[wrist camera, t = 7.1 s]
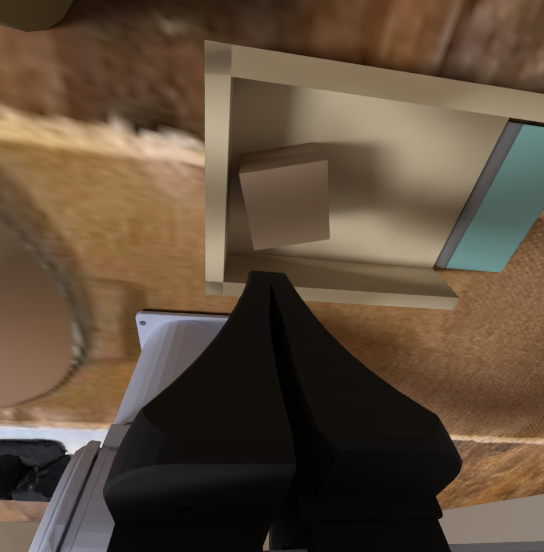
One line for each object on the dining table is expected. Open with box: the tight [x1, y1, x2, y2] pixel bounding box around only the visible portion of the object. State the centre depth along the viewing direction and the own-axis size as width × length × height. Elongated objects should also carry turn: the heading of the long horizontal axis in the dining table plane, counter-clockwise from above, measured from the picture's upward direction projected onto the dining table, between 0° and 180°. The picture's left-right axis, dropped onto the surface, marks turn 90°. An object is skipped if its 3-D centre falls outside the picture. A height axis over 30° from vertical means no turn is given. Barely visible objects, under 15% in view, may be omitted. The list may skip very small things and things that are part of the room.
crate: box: [205, 40, 544, 310], centre depth 17 cm, size 12×16×4 cm
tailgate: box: [435, 122, 544, 272], centre depth 19 cm, size 9×1×5 cm
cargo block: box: [239, 142, 330, 251], centre depth 16 cm, size 4×4×4 cm
